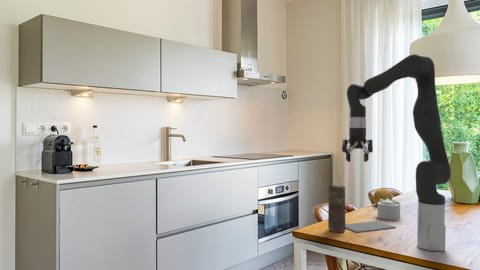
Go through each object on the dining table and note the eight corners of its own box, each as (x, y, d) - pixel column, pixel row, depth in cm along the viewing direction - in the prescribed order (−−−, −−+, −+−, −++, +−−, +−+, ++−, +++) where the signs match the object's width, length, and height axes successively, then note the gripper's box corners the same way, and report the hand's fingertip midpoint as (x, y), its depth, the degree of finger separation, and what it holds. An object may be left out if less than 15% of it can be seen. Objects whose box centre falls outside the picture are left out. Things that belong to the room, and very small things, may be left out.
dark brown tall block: (324, 229, 170) (325, 184, 169) (338, 227, 172) (339, 183, 172) (334, 233, 163) (335, 187, 162) (348, 232, 165) (349, 186, 165)
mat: (356, 232, 164) (356, 231, 164) (339, 225, 175) (339, 224, 175) (395, 228, 173) (395, 226, 173) (376, 221, 184) (376, 220, 184)
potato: (371, 206, 219) (371, 189, 219) (374, 202, 230) (375, 186, 230) (390, 208, 214) (390, 190, 214) (393, 204, 225) (393, 187, 225)
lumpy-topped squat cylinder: (375, 217, 192) (376, 200, 192) (381, 213, 203) (381, 196, 203) (397, 220, 187) (398, 203, 186) (402, 215, 198) (402, 198, 197)
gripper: (347, 126, 173) (346, 162, 173) (375, 127, 176) (375, 162, 176) (340, 126, 181) (339, 161, 181) (367, 127, 183) (367, 160, 183)
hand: (357, 161), depth 178 cm, fingers open, 8 cm apart
